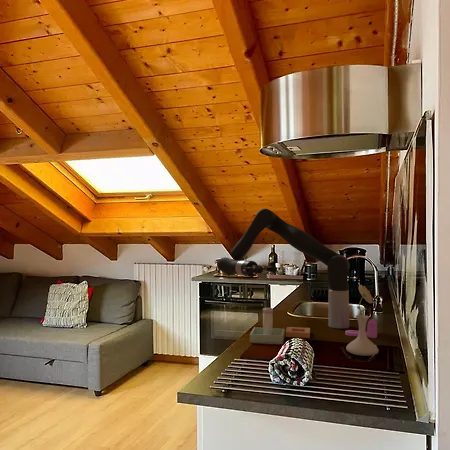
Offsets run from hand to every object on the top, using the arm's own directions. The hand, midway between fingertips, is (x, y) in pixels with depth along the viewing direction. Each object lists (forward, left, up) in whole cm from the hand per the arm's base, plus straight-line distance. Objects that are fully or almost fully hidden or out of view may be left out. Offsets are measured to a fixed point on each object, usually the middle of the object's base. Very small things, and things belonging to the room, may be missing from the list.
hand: (268, 270), depth 204 cm
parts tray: (-1, +17, -27) cm, 32 cm away
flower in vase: (-37, +30, -27) cm, 55 cm away
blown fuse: (-1, +17, -26) cm, 31 cm away
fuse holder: (-13, +5, -27) cm, 30 cm away
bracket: (-40, 0, -27) cm, 48 cm away
